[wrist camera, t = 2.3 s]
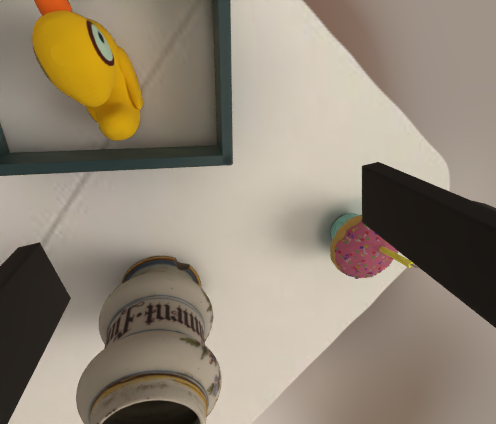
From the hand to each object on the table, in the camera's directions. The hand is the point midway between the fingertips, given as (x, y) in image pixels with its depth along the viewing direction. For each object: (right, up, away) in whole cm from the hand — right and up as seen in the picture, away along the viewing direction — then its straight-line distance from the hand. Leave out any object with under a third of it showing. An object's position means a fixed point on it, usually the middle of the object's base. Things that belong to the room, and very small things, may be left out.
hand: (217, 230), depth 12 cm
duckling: (-12, +14, +16) cm, 24 cm away
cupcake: (+15, -2, +28) cm, 32 cm away
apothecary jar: (-10, -9, +26) cm, 29 cm away
